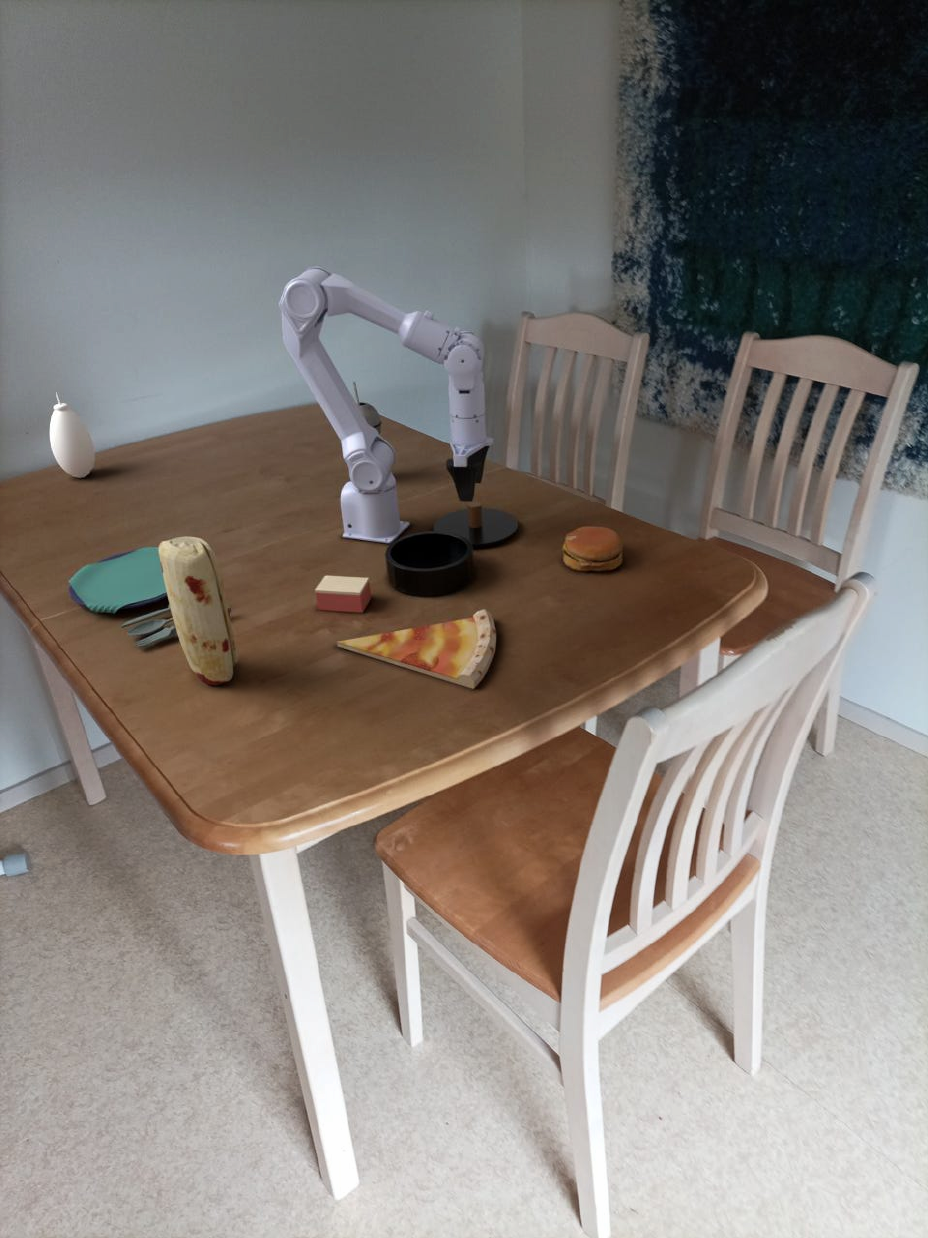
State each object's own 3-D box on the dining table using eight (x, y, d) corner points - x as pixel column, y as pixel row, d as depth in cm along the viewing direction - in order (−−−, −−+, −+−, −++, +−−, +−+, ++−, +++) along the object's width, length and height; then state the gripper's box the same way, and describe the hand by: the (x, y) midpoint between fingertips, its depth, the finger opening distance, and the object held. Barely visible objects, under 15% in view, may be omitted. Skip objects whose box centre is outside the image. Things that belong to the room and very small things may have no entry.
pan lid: (420, 543, 148) (418, 516, 146) (453, 509, 160) (451, 483, 157) (501, 555, 143) (500, 526, 141) (529, 518, 155) (528, 491, 152)
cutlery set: (174, 546, 152) (171, 535, 151) (246, 613, 131) (243, 600, 130) (57, 584, 143) (53, 571, 141) (114, 662, 122) (110, 649, 120)
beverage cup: (394, 476, 175) (384, 376, 164) (372, 489, 170) (361, 387, 159) (365, 470, 178) (354, 372, 168) (343, 483, 173) (330, 383, 163)
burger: (632, 567, 137) (634, 540, 135) (579, 579, 135) (579, 552, 133) (604, 542, 145) (605, 516, 143) (553, 553, 143) (552, 527, 141)
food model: (175, 670, 119) (140, 538, 109) (219, 650, 123) (189, 521, 112) (210, 700, 113) (175, 563, 102) (255, 678, 117) (226, 544, 106)
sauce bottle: (86, 466, 189) (62, 383, 179) (108, 473, 185) (84, 389, 175) (54, 478, 183) (27, 394, 174) (75, 485, 179) (49, 399, 170)
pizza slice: (400, 596, 133) (399, 585, 132) (530, 630, 123) (530, 618, 122) (337, 647, 122) (335, 635, 121) (474, 689, 112) (473, 676, 111)
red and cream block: (318, 610, 131) (314, 589, 129) (328, 595, 135) (325, 575, 133) (362, 612, 130) (359, 592, 128) (371, 597, 133) (368, 577, 132)
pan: (373, 589, 136) (370, 564, 133) (410, 551, 146) (407, 526, 144) (454, 602, 131) (452, 576, 129) (486, 561, 142) (484, 536, 139)
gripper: (483, 428, 133) (486, 510, 140) (499, 399, 145) (501, 475, 153) (438, 427, 135) (443, 508, 142) (458, 398, 147) (461, 474, 154)
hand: (470, 491), depth 147 cm, fingers open, 7 cm apart
